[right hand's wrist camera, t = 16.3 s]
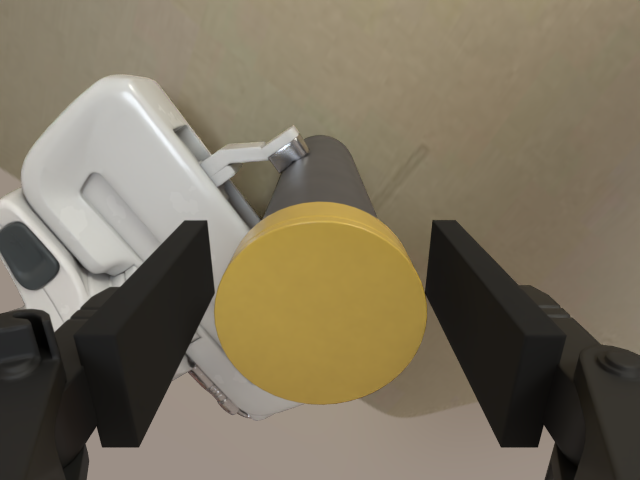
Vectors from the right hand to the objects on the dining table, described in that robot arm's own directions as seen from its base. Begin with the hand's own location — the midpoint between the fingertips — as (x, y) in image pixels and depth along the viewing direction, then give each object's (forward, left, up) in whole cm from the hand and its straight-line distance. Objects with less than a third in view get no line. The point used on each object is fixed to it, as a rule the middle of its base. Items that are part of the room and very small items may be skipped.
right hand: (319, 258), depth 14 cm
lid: (0, 0, +4) cm, 4 cm away
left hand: (0, +1, -8) cm, 8 cm away
